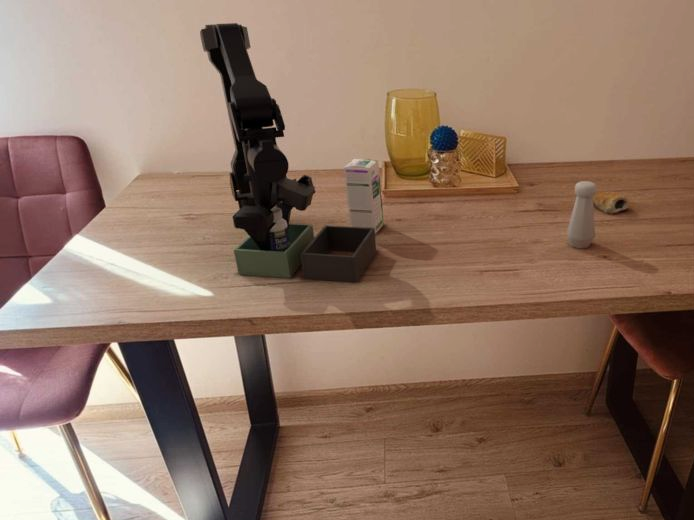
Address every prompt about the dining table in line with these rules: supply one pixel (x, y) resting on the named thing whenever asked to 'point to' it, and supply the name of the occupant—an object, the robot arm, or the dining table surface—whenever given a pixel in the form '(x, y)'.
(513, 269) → the dining table surface
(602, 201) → the pastry
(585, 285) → the dining table surface
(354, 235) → the charcoal crate
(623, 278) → the dining table surface
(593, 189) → the salt shaker
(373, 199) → the syrup box
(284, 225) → the pill bottle
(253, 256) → the green bin
